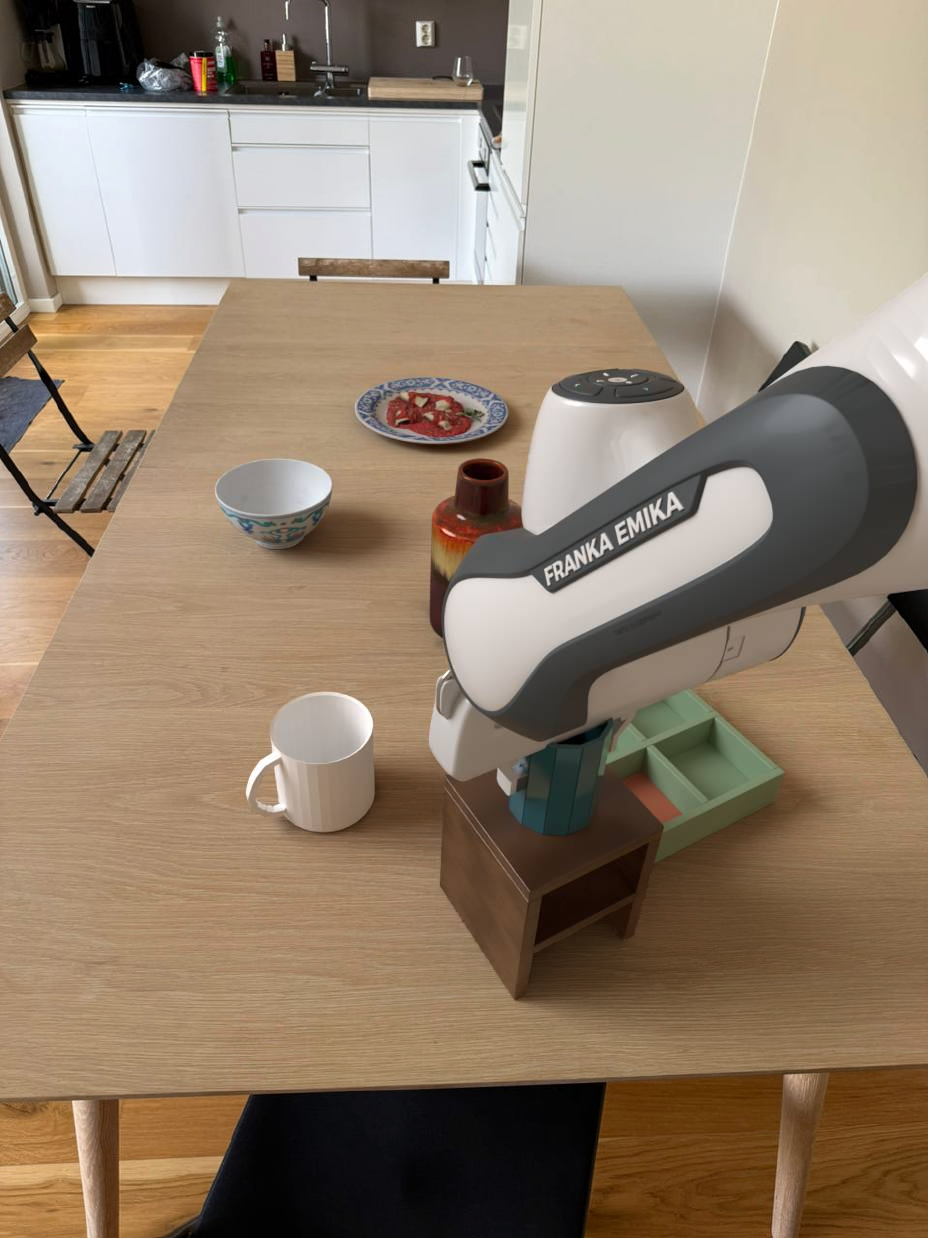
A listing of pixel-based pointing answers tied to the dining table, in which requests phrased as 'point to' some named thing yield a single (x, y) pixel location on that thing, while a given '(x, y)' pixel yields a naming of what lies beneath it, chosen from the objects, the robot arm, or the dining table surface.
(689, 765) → the tray
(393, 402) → the ceramic plate
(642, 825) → the shelf
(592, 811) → the cup
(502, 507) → the vase
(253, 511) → the chinaware
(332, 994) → the dining table surface
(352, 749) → the mug
